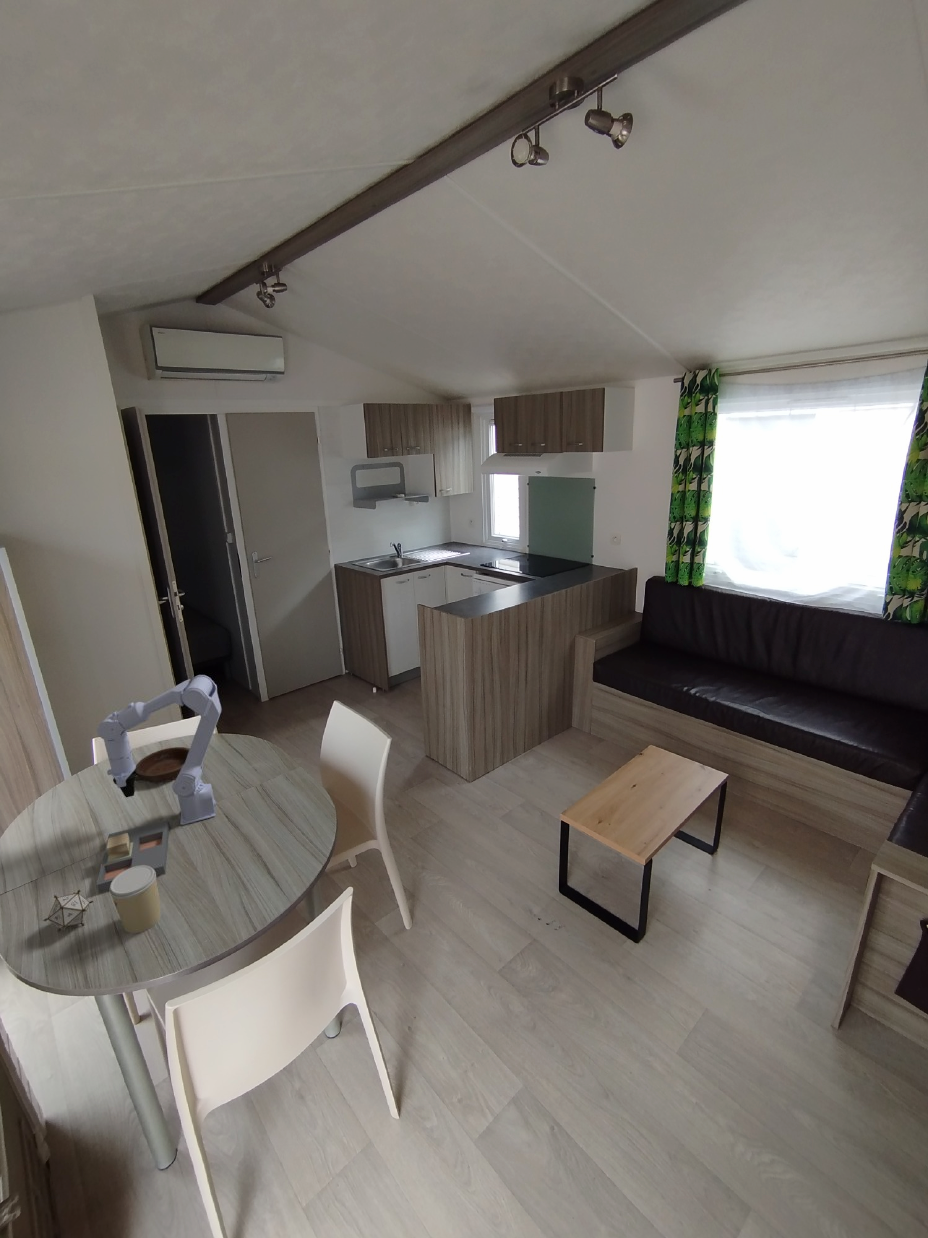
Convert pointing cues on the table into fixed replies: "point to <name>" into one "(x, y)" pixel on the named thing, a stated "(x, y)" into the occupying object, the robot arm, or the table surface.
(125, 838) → the maple block
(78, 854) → the table surface
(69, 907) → the game die
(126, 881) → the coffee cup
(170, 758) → the dish
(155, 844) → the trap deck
